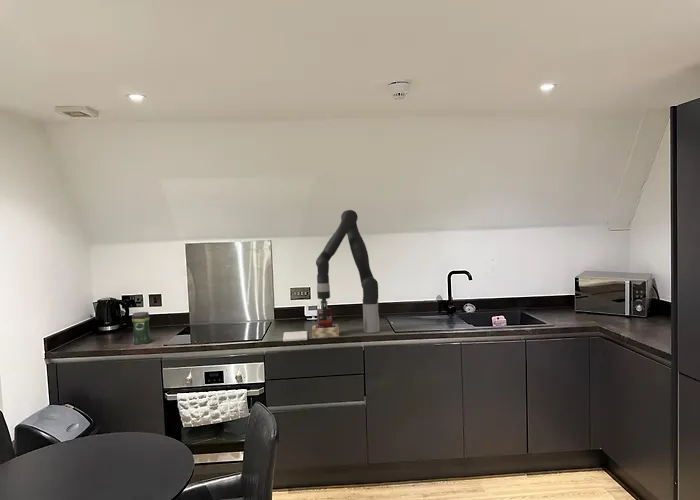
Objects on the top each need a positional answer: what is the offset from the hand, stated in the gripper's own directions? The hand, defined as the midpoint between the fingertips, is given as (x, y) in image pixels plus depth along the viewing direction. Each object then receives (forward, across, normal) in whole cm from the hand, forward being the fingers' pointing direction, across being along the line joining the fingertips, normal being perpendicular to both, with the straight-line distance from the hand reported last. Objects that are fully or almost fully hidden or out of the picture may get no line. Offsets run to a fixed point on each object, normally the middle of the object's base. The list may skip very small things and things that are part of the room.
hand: (324, 318), depth 316 cm
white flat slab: (+10, 0, +18) cm, 21 cm away
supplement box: (+10, 0, 0) cm, 10 cm away
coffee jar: (+10, +9, +109) cm, 110 cm away
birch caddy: (+10, 0, 0) cm, 10 cm away
